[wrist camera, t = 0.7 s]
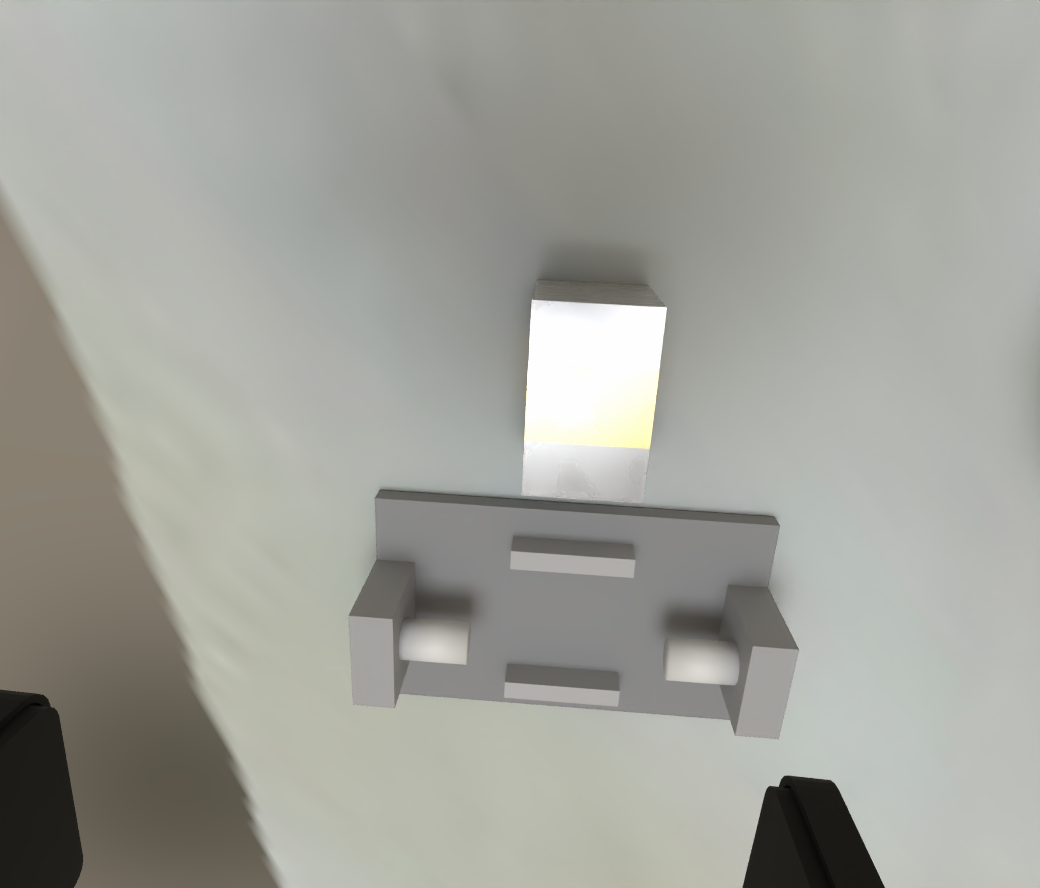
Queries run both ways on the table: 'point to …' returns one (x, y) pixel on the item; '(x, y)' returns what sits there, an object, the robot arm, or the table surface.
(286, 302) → the table surface
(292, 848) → the table surface
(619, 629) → the shaft stand
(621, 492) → the coupler
